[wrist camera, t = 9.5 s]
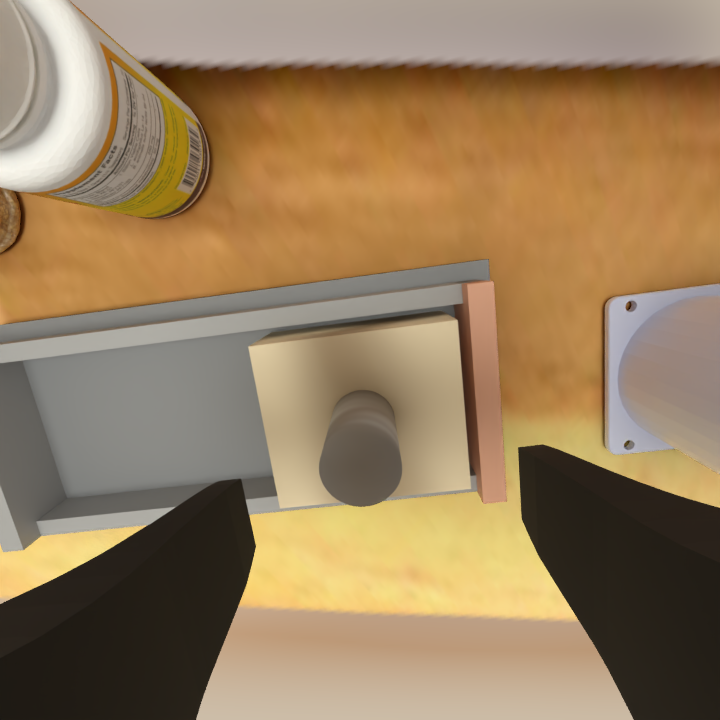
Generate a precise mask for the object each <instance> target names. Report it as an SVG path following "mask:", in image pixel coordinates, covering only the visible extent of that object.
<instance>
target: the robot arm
mask: <svg viewBox="0 0 720 720" xmlns="http://www.w3.org/2000/svg"><path fill="white" fill-rule="evenodd" d="M629 301H630V302H631V304H632V306H631V308H630V309H629V310H628V311H627V310H626V308H625V306H626V304H627V302H629ZM628 440H630V442H629V444H628V445H627V446H625V447H624V443H625V442H626V441H628ZM605 447H606V449H607V450H608V451H609V452H611V453H612V454H614V455H621V454H631V453H640V452H650V451H659V450H669V449H677V450H679V451H680V452H682V453H684V454H686V455H687V456H689V457H691V458H692V459H694V460H696V461H697V462H699V463H701V464H703V465H704V466H706V467H708V468H709V469H711V470H713V471H714V472H716V473H718V474H720V283H717V284H709V285H702V286H694V287H686V288H678V289H670V290H662V291H655V292H647V293H639V294H631V295H623V296H616V297H612V298H611V299H609V300H608V301H607V303H606V305H605ZM518 453H519V473H520V493H521V513H522V520H523V523H524V525H525V527H526V530H527V532H528V534H529V536H530V539H531V541H532V543H533V545H534V547H535V549H536V551H537V553H538V555H539V557H540V559H541V560H542V562H543V564H544V565H545V567H546V569H547V570H548V572H549V573H550V575H551V577H552V578H553V580H554V582H555V583H556V585H557V586H558V588H559V590H560V591H561V593H562V594H563V596H564V598H565V599H566V601H567V602H568V604H569V605H570V607H571V609H572V610H573V612H574V613H575V615H576V617H577V618H578V620H579V621H580V623H581V625H582V626H583V628H584V629H585V631H586V632H587V634H588V636H589V637H590V639H591V640H592V642H593V644H594V645H595V647H596V649H597V651H598V652H599V654H600V656H601V657H602V659H603V661H604V663H605V664H606V666H607V668H608V670H609V672H610V674H611V676H612V677H613V680H614V682H615V683H616V685H617V687H618V689H619V691H620V693H621V695H622V697H623V699H624V701H625V703H626V705H627V707H628V709H629V711H630V713H631V715H632V717H633V719H634V720H720V508H718V507H714V506H711V505H707V504H704V503H700V502H697V501H693V500H690V499H687V498H684V497H681V496H677V495H674V494H671V493H668V492H665V491H663V490H660V489H657V488H654V487H651V486H649V485H646V484H643V483H640V482H637V481H635V480H632V479H630V478H627V477H624V476H622V475H619V474H617V473H614V472H612V471H609V470H607V469H604V468H602V467H599V466H597V465H595V464H592V463H590V462H587V461H585V460H582V459H580V458H578V457H575V456H573V455H570V454H568V453H565V452H563V451H560V450H558V449H555V448H552V447H549V446H546V445H535V446H526V447H518ZM255 548H256V545H255V540H254V536H253V531H252V526H251V522H250V517H249V512H248V508H247V503H246V499H245V494H244V489H243V485H242V480H241V479H232V480H223V481H218V482H215V483H213V484H211V485H210V486H208V487H206V488H205V489H203V490H201V491H200V492H198V493H196V494H195V495H193V496H192V497H190V498H189V499H187V500H186V501H184V502H183V503H181V504H180V505H178V506H177V507H175V508H174V509H172V510H171V511H169V512H168V513H166V514H165V515H163V516H162V517H160V518H159V519H157V520H156V521H154V522H152V523H151V524H149V525H148V526H146V527H144V528H143V529H141V530H140V531H138V532H136V533H135V534H133V535H132V536H130V537H128V538H127V539H125V540H124V541H122V542H120V543H119V544H117V545H115V546H114V547H112V548H110V549H109V550H107V551H105V552H104V553H102V554H100V555H98V556H97V557H95V558H93V559H91V560H89V561H88V562H86V563H84V564H82V565H80V566H78V567H76V568H74V569H72V570H71V571H69V572H67V573H65V574H63V575H61V576H59V577H57V578H55V579H53V580H51V581H49V582H47V583H45V584H43V585H41V586H38V587H36V588H34V589H32V590H30V591H28V592H25V593H23V594H21V595H19V596H17V597H15V598H12V599H10V600H8V601H6V602H4V603H2V604H0V720H196V717H197V714H198V711H199V707H200V704H201V701H202V698H203V695H204V692H205V690H206V687H207V684H208V681H209V679H210V676H211V673H212V671H213V668H214V666H215V663H216V661H217V658H218V655H219V653H220V651H221V648H222V646H223V643H224V641H225V638H226V636H227V633H228V631H229V628H230V625H231V623H232V620H233V618H234V616H235V613H236V610H237V608H238V605H239V603H240V600H241V597H242V595H243V592H244V590H245V587H246V584H247V581H248V577H249V573H250V569H251V565H252V561H253V557H254V552H255Z"/></svg>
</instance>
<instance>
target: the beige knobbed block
mask: <svg viewBox="0 0 720 720" xmlns="http://www.w3.org/2000/svg"><path fill="white" fill-rule="evenodd" d="M248 348H249V353H250V359H251V364H252V369H253V374H254V379H255V384H256V389H257V394H258V399H259V404H260V409H261V415H262V420H263V425H264V430H265V435H266V440H267V445H268V450H269V455H270V460H271V465H272V470H273V476H274V481H275V486H276V491H277V496H278V501H279V506H280V509H281V508H291V507H300V506H310V505H320V504H330V503H339V502H343V503H345V504H348V505H352V506H360V507H362V506H371V505H374V504H377V503H380V502H382V501H384V500H385V499H387V498H388V497H398V496H407V495H417V494H427V493H437V492H446V491H456V490H466V489H471V481H470V468H469V456H468V443H467V431H466V418H465V406H464V393H463V381H462V368H461V356H460V343H459V331H458V320H457V319H455V318H453V317H452V316H450V315H448V314H447V313H445V312H443V311H433V312H425V313H417V314H410V315H402V316H394V317H386V318H379V319H371V320H363V321H355V322H347V323H340V324H332V325H324V326H316V327H309V328H301V329H293V330H285V331H278V332H271V333H269V334H268V335H266V336H264V337H263V338H261V339H260V340H258V341H256V342H255V343H253V344H252V345H250V346H248Z"/></svg>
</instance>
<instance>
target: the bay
mask: <svg viewBox="0 0 720 720" xmlns="http://www.w3.org/2000/svg"><path fill="white" fill-rule="evenodd" d="M433 311H443V312H445V313H447V314H448V315H450V316H452V317H453V318H455V319H457V320H458V331H459V343H460V356H461V368H462V381H463V393H464V406H465V418H466V431H467V443H468V456H469V468H470V481H471V489H466V490H456V491H446V492H437V493H427V494H417V495H407V496H398V497H388V498H387V499H385V500H384V501H387V500H397V499H407V498H417V497H426V496H436V495H446V494H456V493H465V492H475V491H478V494H479V496H480V498H481V500H482V502H483V504H486V503H496V502H506V501H507V497H506V480H505V463H504V446H503V429H502V412H501V395H500V378H499V361H498V344H497V327H496V311H495V294H494V281H490V274H489V259H486V260H477V261H470V262H462V263H455V264H448V265H440V266H433V267H425V268H418V269H411V270H403V271H396V272H388V273H381V274H374V275H366V276H359V277H351V278H344V279H337V280H329V281H322V282H314V283H307V284H300V285H292V286H285V287H277V288H270V289H263V290H255V291H248V292H240V293H233V294H226V295H218V296H211V297H203V298H196V299H189V300H181V301H174V302H166V303H159V304H152V305H144V306H137V307H129V308H122V309H115V310H107V311H100V312H92V313H85V314H78V315H70V316H63V317H55V318H48V319H41V320H33V321H26V322H19V323H11V324H4V325H0V545H1V547H2V550H3V552H8V551H18V550H24V549H25V548H27V547H28V546H29V545H30V544H32V543H33V542H34V541H35V540H37V539H38V538H39V537H40V536H45V535H55V534H65V533H75V532H84V531H94V530H104V529H114V528H124V527H133V526H143V525H149V524H151V523H152V522H154V521H156V520H157V519H159V518H160V517H162V516H163V515H165V514H166V513H168V512H169V511H171V510H172V509H174V508H175V507H177V506H178V505H180V504H181V503H183V502H184V501H186V500H187V499H189V498H190V497H192V496H193V495H195V494H196V493H198V492H200V491H201V490H203V489H205V488H206V487H208V486H210V485H211V484H213V483H215V482H218V481H223V480H232V479H241V480H242V485H243V489H244V494H245V499H246V503H247V508H248V512H249V515H251V514H260V513H270V512H280V511H290V510H299V509H309V508H319V507H329V506H338V505H348V504H345V503H343V502H339V503H330V504H320V505H310V506H300V507H291V508H281V509H280V506H279V501H278V496H277V491H276V486H275V481H274V476H273V470H272V465H271V460H270V455H269V450H268V445H267V440H266V435H265V430H264V425H263V420H262V415H261V409H260V404H259V399H258V394H257V389H256V384H255V379H254V374H253V369H252V364H251V359H250V353H249V348H248V346H250V345H252V344H253V343H255V342H256V341H258V340H260V339H261V338H263V337H264V336H266V335H268V334H269V333H271V332H278V331H285V330H293V329H301V328H309V327H316V326H324V325H332V324H340V323H347V322H355V321H363V320H371V319H379V318H386V317H394V316H402V315H410V314H417V313H425V312H433Z"/></svg>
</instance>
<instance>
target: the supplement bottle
mask: <svg viewBox="0 0 720 720" xmlns="http://www.w3.org/2000/svg"><path fill="white" fill-rule="evenodd" d="M208 172H209V148H208V143H207V140H206V136H205V134H204V131H203V128H202V126H201V124H200V122H199V121H198V119H197V117H196V116H195V114H194V113H193V112H192V110H191V109H190V108H189V107H188V106H187V105H186V104H185V103H184V102H183V101H182V100H181V99H180V98H179V97H178V96H177V95H176V94H175V93H174V92H172V91H171V90H170V89H169V88H168V87H167V86H166V85H164V84H163V83H162V82H161V81H160V80H159V79H158V78H157V77H155V76H154V75H153V74H152V73H151V72H150V71H149V70H147V69H146V68H145V67H144V66H143V65H142V64H141V63H139V62H138V61H137V60H136V59H135V58H134V57H133V56H132V55H130V54H129V53H128V52H127V51H126V50H125V49H124V48H122V47H121V46H120V45H119V44H118V43H116V41H114V40H113V39H112V38H111V37H110V36H109V35H108V34H107V33H105V32H104V31H103V30H102V29H101V28H100V27H99V26H98V25H96V24H95V23H94V22H93V21H92V20H91V19H90V18H88V17H87V16H86V15H85V14H84V13H83V12H82V11H81V10H80V9H78V8H77V7H76V6H75V5H74V4H73V3H72V2H71V1H69V0H0V187H1V188H5V189H9V190H13V191H18V192H22V193H27V194H32V195H37V196H42V197H46V198H51V199H55V200H60V201H64V202H69V203H74V204H79V205H84V206H88V207H93V208H98V209H103V210H107V211H112V212H117V213H122V214H126V215H131V216H136V217H140V218H148V219H159V218H166V217H170V216H173V215H176V214H178V213H180V212H182V211H184V210H185V209H186V208H188V207H189V206H190V205H191V204H192V203H193V202H194V201H195V200H196V199H197V198H198V196H199V195H200V193H201V192H202V190H203V188H204V185H205V183H206V180H207V177H208Z"/></svg>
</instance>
